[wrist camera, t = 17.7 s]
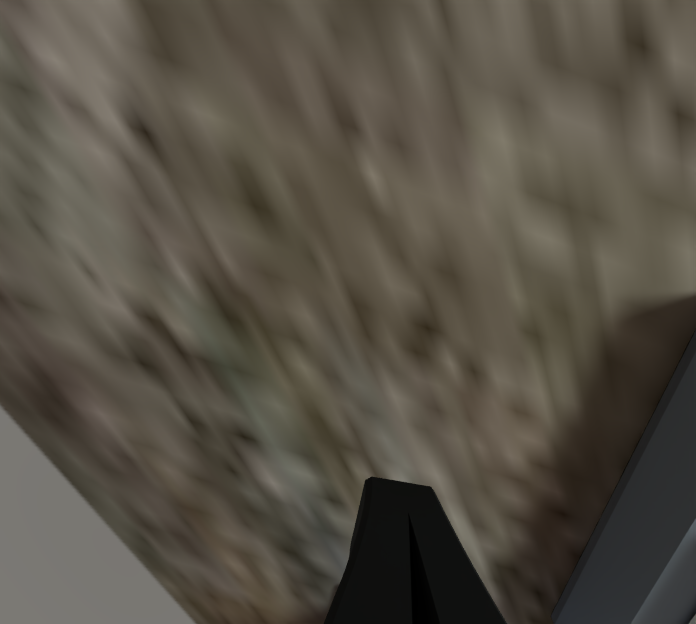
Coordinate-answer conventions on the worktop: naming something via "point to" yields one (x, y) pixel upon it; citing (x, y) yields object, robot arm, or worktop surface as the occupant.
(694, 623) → the cover
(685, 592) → the gray storage bin
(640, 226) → the worktop surface
